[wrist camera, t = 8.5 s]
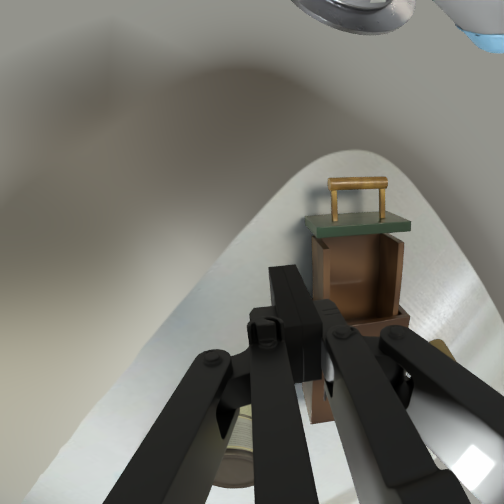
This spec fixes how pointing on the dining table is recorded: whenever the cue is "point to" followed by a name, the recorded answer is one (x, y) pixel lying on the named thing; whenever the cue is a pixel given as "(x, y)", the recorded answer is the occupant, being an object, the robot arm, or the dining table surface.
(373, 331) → the cabinet
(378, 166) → the dining table surface
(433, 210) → the dining table surface
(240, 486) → the coffee can
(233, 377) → the robot arm
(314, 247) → the drawer
